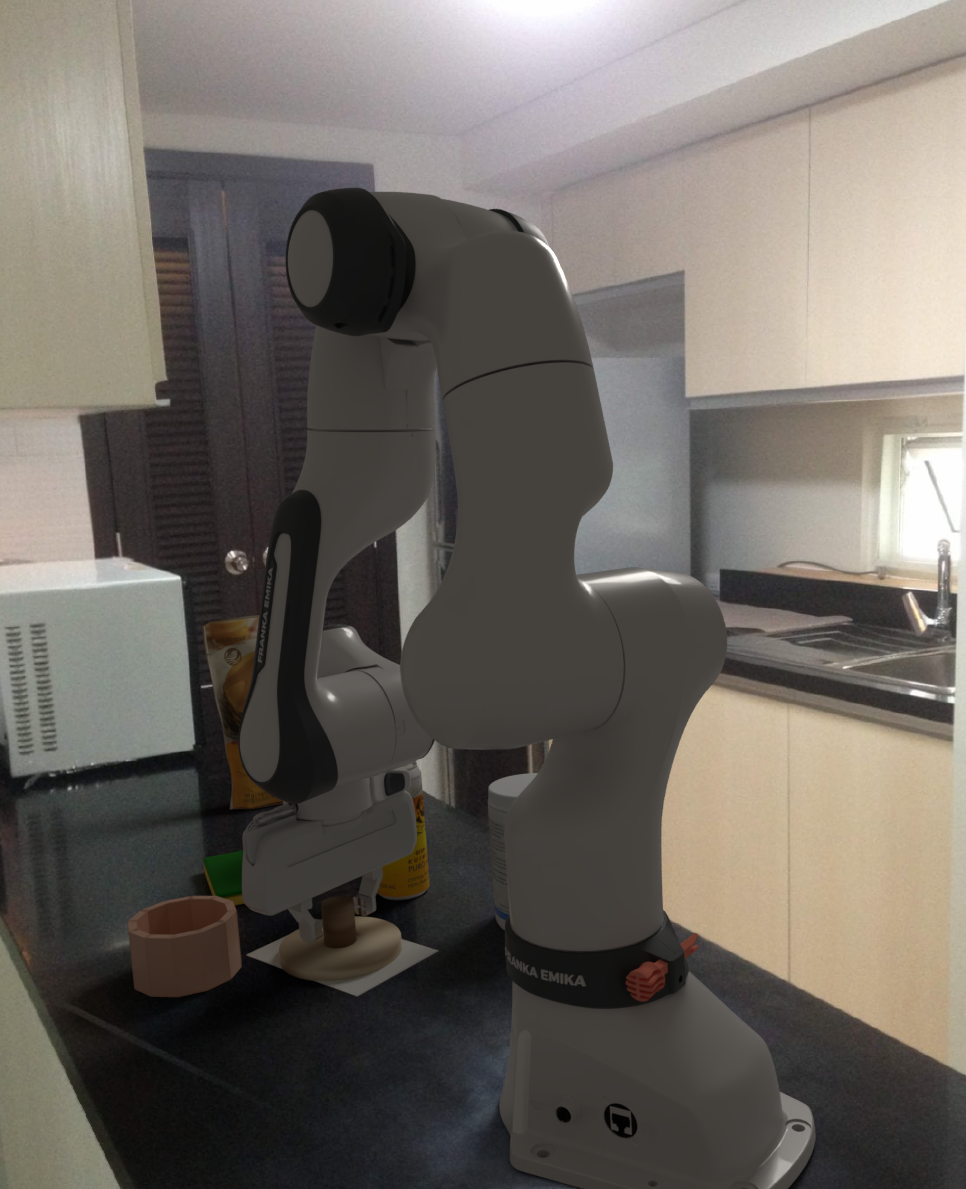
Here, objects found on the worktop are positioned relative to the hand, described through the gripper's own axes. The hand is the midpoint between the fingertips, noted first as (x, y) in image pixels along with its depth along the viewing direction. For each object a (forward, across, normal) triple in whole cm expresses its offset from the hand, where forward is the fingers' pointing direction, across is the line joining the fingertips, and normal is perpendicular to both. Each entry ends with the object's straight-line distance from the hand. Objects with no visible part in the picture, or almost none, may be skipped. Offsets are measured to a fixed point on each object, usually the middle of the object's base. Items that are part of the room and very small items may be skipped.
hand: (339, 925), depth 107 cm
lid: (+3, 0, 0) cm, 3 cm away
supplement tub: (+3, +17, -12) cm, 21 cm away
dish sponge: (+4, +7, +25) cm, 26 cm away
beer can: (+3, +15, +6) cm, 17 cm away
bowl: (+3, -11, +10) cm, 15 cm away
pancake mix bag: (+3, +33, +49) cm, 59 cm away
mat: (+3, 0, 0) cm, 3 cm away
